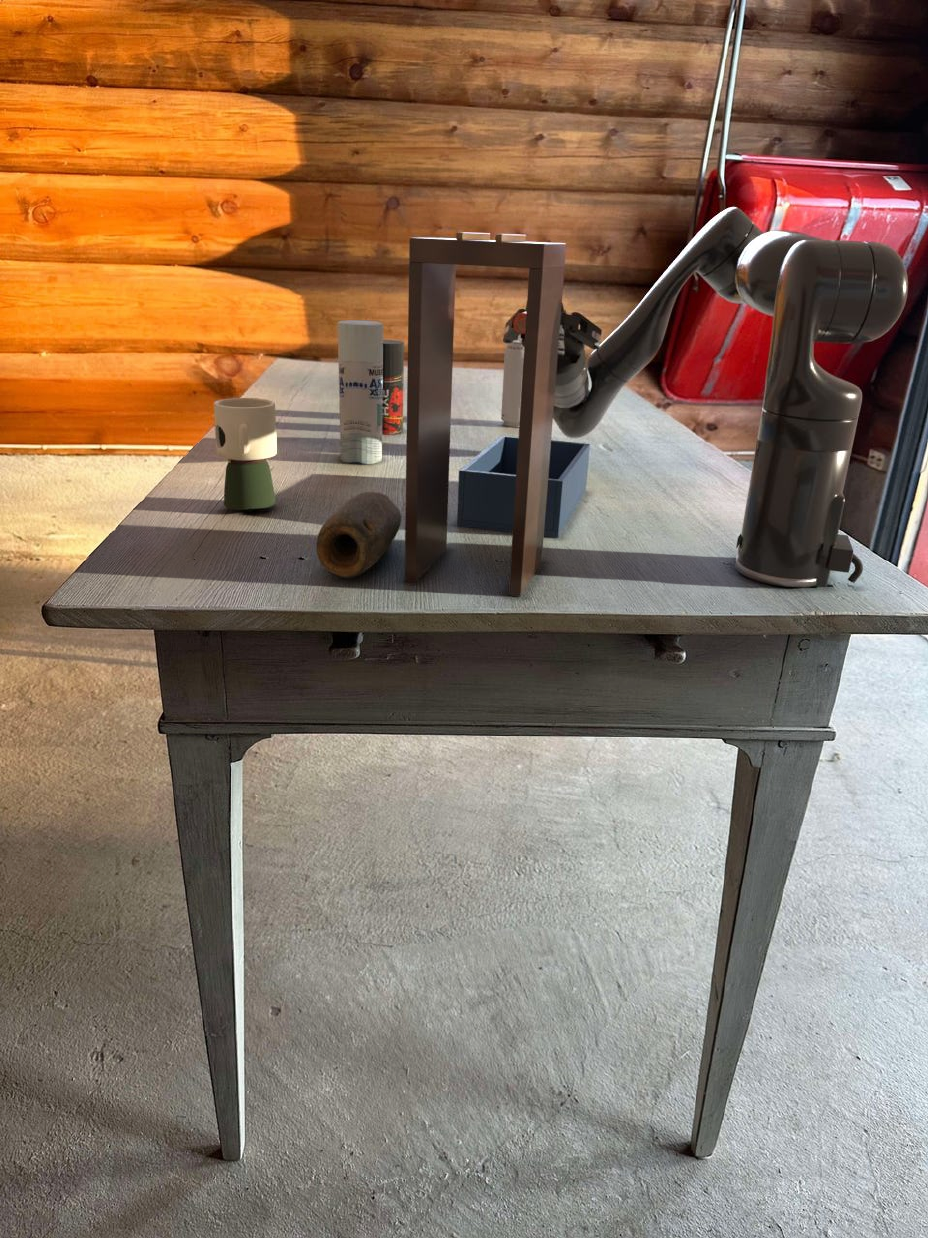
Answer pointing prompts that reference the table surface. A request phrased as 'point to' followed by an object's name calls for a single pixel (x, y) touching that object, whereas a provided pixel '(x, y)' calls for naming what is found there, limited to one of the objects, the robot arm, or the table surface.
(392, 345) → the deodorant
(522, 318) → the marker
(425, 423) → the stand
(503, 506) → the bin
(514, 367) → the energy drink can
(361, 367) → the spray paint can
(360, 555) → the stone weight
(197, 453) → the table surface
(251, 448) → the character mug
